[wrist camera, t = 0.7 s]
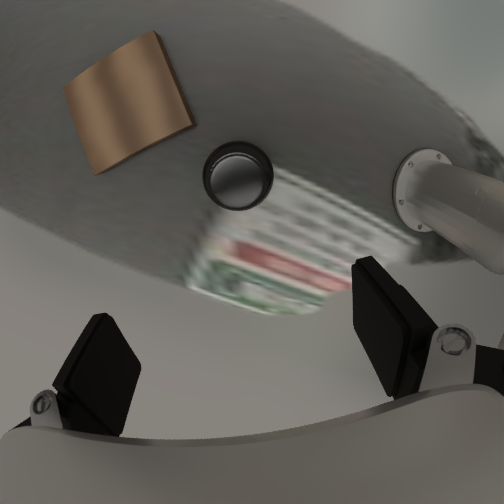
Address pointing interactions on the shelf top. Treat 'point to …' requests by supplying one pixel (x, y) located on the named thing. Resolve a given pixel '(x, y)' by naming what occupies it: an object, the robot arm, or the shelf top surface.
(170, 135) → the wavy wooden tray
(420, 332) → the robot arm
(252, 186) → the supplement bottle
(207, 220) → the shelf top surface
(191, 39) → the shelf top surface
